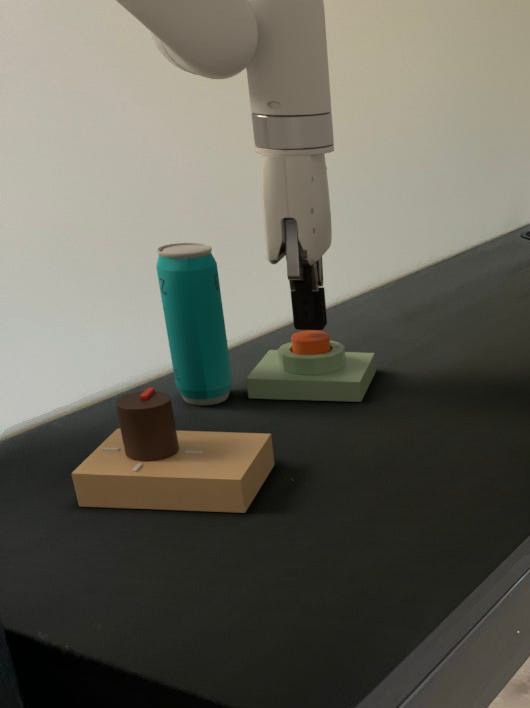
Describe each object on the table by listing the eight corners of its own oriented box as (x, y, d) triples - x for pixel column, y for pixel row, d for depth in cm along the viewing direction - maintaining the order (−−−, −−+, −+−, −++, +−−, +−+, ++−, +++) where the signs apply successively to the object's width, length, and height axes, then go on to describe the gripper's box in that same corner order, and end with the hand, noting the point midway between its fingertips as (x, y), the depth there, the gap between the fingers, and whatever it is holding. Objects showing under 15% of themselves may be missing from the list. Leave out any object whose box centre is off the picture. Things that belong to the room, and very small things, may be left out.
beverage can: (231, 387, 107) (211, 240, 99) (237, 404, 102) (217, 252, 94) (176, 392, 105) (151, 243, 97) (180, 410, 101) (155, 256, 93)
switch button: (289, 357, 104) (287, 340, 103) (297, 345, 108) (295, 329, 107) (326, 358, 104) (325, 341, 103) (333, 346, 107) (332, 330, 106)
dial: (169, 462, 82) (159, 406, 79) (117, 460, 82) (106, 404, 80) (185, 442, 86) (177, 388, 83) (136, 440, 86) (125, 386, 83)
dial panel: (78, 506, 82) (70, 471, 80) (123, 459, 90) (116, 426, 88) (245, 513, 81) (240, 477, 79) (274, 464, 89) (271, 431, 88)
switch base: (248, 398, 104) (243, 361, 102) (271, 368, 112) (267, 333, 110) (361, 402, 103) (358, 364, 101) (376, 372, 112) (374, 336, 109)
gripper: (273, 125, 101) (292, 308, 111) (233, 143, 88) (257, 348, 98) (346, 126, 100) (358, 309, 110) (316, 144, 88) (332, 350, 98)
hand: (310, 327), depth 104 cm, fingers closed
